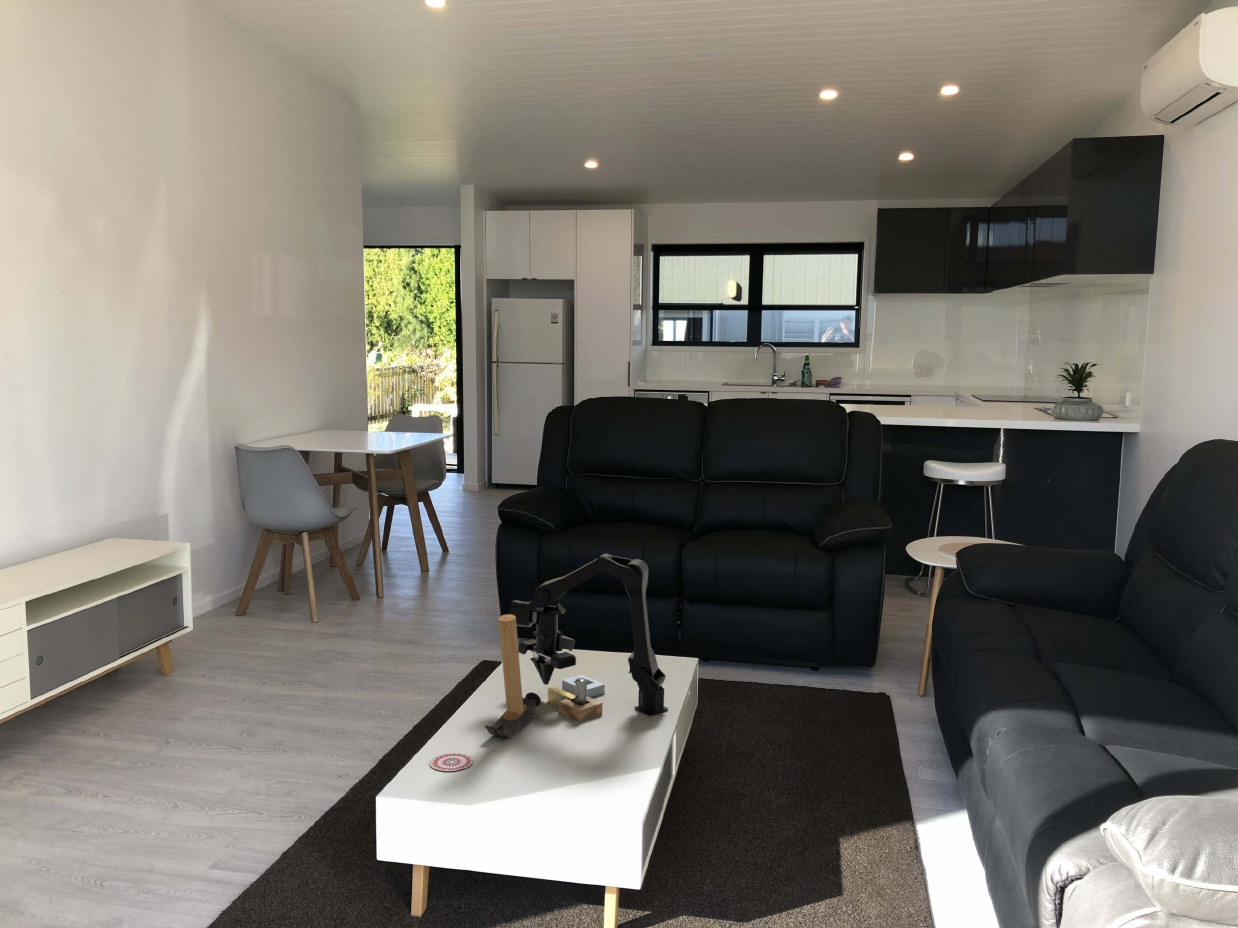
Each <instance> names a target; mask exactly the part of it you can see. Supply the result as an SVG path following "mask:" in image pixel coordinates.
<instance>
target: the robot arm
mask: <svg viewBox="0 0 1238 928" xmlns="http://www.w3.org/2000/svg"><path fill="white" fill-rule="evenodd" d="M648 566H649V565H648V564H647V563H646V562H645V561H644V560H642V559H637V558H636V559H631V558H626V557H620V556H616V555H615V556H614V555H611V554H609V553H603V554H601V555H600V556H599V557H598V558H595V559H594V560H593V561H590V562H589V563H586V564H585V565H583V566H581V567H580V568H578V569H576V570H574V571H572V572H570V573H568V574H566V575H563V576H561V577H556V578H553V579H550V580H547V581H544V583H542V584H540V585H539V586H538V587H536V588H535V591H534V595H533V596H534V597H533V598H532V600H531V601H522V600H519V599H517V600H516V599H514V600H512V601H511V603H510V604H511V605H510V609H509V611H508V614H510V615H514V616H515V617H516V627H524V628H525V627H526V628H531V627H532V626H533V624H534V625H535V624H536V631H533V632H532V635H533V636H534V637H535V639H534V638H533V639H532V638H531V639H528V640H527V639H526V640H523V641H520V642H519V643H518V651H519V654H522V655H526V654H527V653H528V651H531V653H532V657H531V658H530V661H531V662H532V664H533V666H534V667H535V669H536V672H537V673H538V675H539V677H540V679H541V681H542V683H543V685H545V686H547V685H549V683H550V680H551V678H552V676H553V673H554V671H555V669H557V670H562V669H566V668H567V669H568V668H570V667H574V666H576V665H577V657H576V656H575V655H574V654H572V653H570V652H573V650H574V647H575V646H574V645H575V643H576V640H575V639H573V638H571V637H568V636H565V635H563V631H560V630H559V629H558V628H559V627H558V623H559V622H558V621H559V620H558V617H559V616H560V615H561V616H562V615H563V614H564V613H566V608H565V607H563V606H562V605H561V603H557V605H552V604H553V603H555V602H556V601H557V600H558V599H560V598H561V597H562V596H564V594H566V593H567V592H568V591H569V590H571V589H573V588H575V587H576V586H579V585H580V584H582V583H585V582H586V581H588V580H590V579H592V578H593V577H595V576H597V575H599V574H600V573H602V572H604V573H607V574H609V575H610V576H612V577H614V578H617V579H619V580H622V583H623V586H624V589H625V592H626V593H627V595H628V598H629V607H630V617H631V627H632V638H633V644H634V645H633V647H634V650H633V652H632V653H630V655H629V656H628V658H627V662H628V666H629V671H628V674H631V678H632V680H633V681H634V682H635V683H637V687H638V702H637V703H638V704H637V705H636V706H634V709H635V710H637V711H639V712H642V713H644V714H646V715H649V716H654V715H658V714H660V713H663V712H666V711H668V710H669V708H668V707H666V706H665V688H664V687H663V684H664V682H665V680H666V677H667V675H666V674H665V673H664V672H663V671H662V670H661V669H660V668H659V666H658V665H659V664H658V660H657V657H656V654H655V652H654V650H653V648H652V646H651V638H650V629H649V627H650V626H649V625H650V624H649V619H648V618H649V617H648V607H647V606H648V605H647V595H646V592H647V588H648V581H649V567H648ZM563 650H568V651H569V652H568V651H563ZM562 651H563V652H562Z"/></svg>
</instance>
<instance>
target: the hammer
mask: <svg viewBox="0 0 1238 928" xmlns="http://www.w3.org/2000/svg"><path fill="white" fill-rule="evenodd" d="M517 628H518V627H517V626H516V617H515V616H514V615H510V614H509V613H508V614H503V615H501V616H499V617H498V629H499V639H500V640H499V641H500V648H501V659H502V661H501V663H502V670H503V671H502V672H503V683H504V690H505V691H504V692H505V693H504V694H505V695H504V696H505V703H506V704H505V705H506V711H504V713H503V714H502V715H501V716H500V717H499V718H498V719H497V720H496V722H495V723H494V724H493V725H492V726H488V725H485V729H486V730H487V732H488V734H489V735H491V736H497V737H502V738H507V739H511V738H513V737H515V735H517V734H518V733H519V732H520V731H522V730H523V729H524V728H526V727H527V726H528V725H529V724H530V723H531V722H532V720H533V719H534V718H535V717H536V716H537V707H539V706H541V704H542V699H541V697H540V696H539V695H538V694H537V693H535V692H528V693H526V694H525V697H523V689H522V688H523V687H522V678H521V677H522V675H521V666H520V653H519V651H518V645H519V641H518V630H517Z"/></svg>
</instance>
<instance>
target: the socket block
mask: <svg viewBox="0 0 1238 928" xmlns="http://www.w3.org/2000/svg"><path fill="white" fill-rule="evenodd" d="M558 713H560V714H562V715H564V716H566V717H568V718H569V719H572V720H575V721H576V722H578V723H580V722H582V721H585V720H588V719H592V718H595V717H597V716H600V715H603V702H601V701H600V700H597V699H595V698H593V697H588V696H587V704H585V705H581V706H579V705H577V704H574V703H572V701H570V700H568V699H565V700H562V701H559V705H558Z"/></svg>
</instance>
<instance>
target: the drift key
mask: <svg viewBox="0 0 1238 928" xmlns="http://www.w3.org/2000/svg"><path fill="white" fill-rule="evenodd" d="M565 699H568V700H570V701H572V703H574V704H575V694H573V693H571V692H568V691H566V690H564V689H562V688H559V687H557V686H552V687H550V686H549V687H548V689H547V701H548V702H550V703H552V704H555V705H556V706H559V701H562V700H565Z"/></svg>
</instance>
